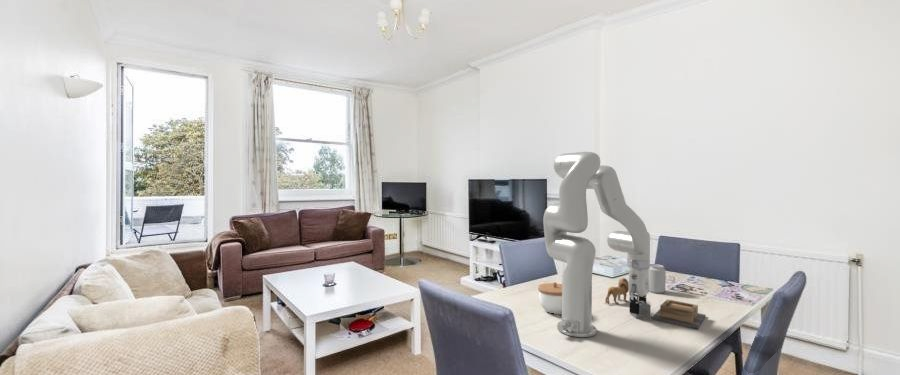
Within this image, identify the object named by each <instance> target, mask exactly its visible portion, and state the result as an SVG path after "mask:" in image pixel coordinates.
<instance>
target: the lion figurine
mask: <svg viewBox="0 0 900 375" xmlns="http://www.w3.org/2000/svg"><path fill="white" fill-rule="evenodd" d="M617 284H618V286H610V287H609V288H607V293H606V294H607V295H606V297H605V304H607V305H610V297H611V296H612V297H613V302H614V304H615V305H620V304H619V302H617V300H618V301H621V295H623V302H625V303H626V302H628V300H627V293H629V289H628V286H629V280H628V279H626V278H625V277H621V278H619V280H618V282H617Z"/></svg>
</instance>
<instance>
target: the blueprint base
mask: <svg viewBox="0 0 900 375" xmlns="http://www.w3.org/2000/svg"><path fill="white" fill-rule="evenodd" d="M659 307H660V308H659V309H658V310H657V311H656V312H655V313H654V314H653V315H652V317H651V319H652V320H655V321H657V322H658V321H659V322H663V323H668V324H672V325H675V326H681V327H684V328H688V329H693V330H699V328H700V326H701V325H702V323H703V322H704V320H705V318H706V314H704V313H701V312H700V313H699V312H698V310H699V305H697V304H694V303H689V302H684V301H683V302H682V301H678V300H673V299H666V300H664V302H662V304H660V306H659Z"/></svg>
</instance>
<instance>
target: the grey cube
mask: <svg viewBox="0 0 900 375" xmlns="http://www.w3.org/2000/svg"><path fill="white" fill-rule="evenodd" d="M638 303H639V314H634V313H630V312H629V314H630V315H631V316H632V317H634V318H635V319H636V320H643V319H644V320H650V319H651V304H649V303H647V301H646V302H644V301H639V302H638Z"/></svg>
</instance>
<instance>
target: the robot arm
mask: <svg viewBox="0 0 900 375" xmlns="http://www.w3.org/2000/svg"><path fill="white" fill-rule="evenodd" d="M553 169H554V172H555V174H556V175H557V176H558V177H560V178H562V181H561V183H560V185H559V189H558V190H559V192H558V197H559V198H558V199H559V202H558V203H557V202H556V203H552V204H550V205H547V208H545V210H544V213H543V219H542V223H543V234H544V235H543V236H544V243H545V249H546V252H547V255H548V256H549V257H550V258H551V259H553V260H556V261H558V262H564V263H566V266H565V269H564V271H563V273H562V277H561V284H562V314H561V320H560V321H559V322H557V324H556V328H557V330H558V331H559V332H560V333H562V334H564V335H566V336H570V337H575V338H590V337H593V336H595V335H596V334H597V327H596V325H594V324H592V322H593V320H592V318H593V314H592V311H593V309H592V308H593V306H592V305H593V299H592V298H593V269H594V264H595V259H596V247H595V244H594V243H593V242H592V241H591V240H590V239H588V238H585V237H582V236H577V235H573V234H582V233H583V232H585V231H586V230H587V228H588V225H589V218H588V217H589V216H588V215H589V214H588V205H587V204H588V203H587V190H594V192H595V195H596V199H597V202H598V205H599V207H600V211H601V212H602V213H603V214H604V215H606V216H607V217H609V218H610V219H612V220H615V221H617V222H618V223H620V224H621V225H622V226H623V227H624V228H625V229H626V230H625V231H623V230H614V231H612V232H610V233H609V234H608V236H607V239H606V242H607V243H606V244H607V245H608V247H609V248H610V249H612V250H613V251H615V252H620V253H626V255H627V257H626V259H627V260H626V261H627V265H626V267H627V268H628V269H629V272H628V284H629V286H628V289H629V290H628V294H629V299H628V300H629V314H630V313H634V314H639V303H638V302H639V301H644V302H646V303H647V295H648V294H649V290H650V289H649V269H650V264H651V260H650V259H651V234H650V232H648V230H647V227H646V224H645V222H644V221H643V219H642V218H641V217H640V216H639V214H637V213H636V212H635V211H634V210H633V208H632V207H630V206H629V205H628V204H627V202H626V199H625V196H624V193H623V190H622V187H621V183H620V181H619V178H618V175H617V174H618V173H617V172H616V170H615V169H614V168H613V167H612V166H609V165H601V158H600V156H599V155H598V154H597V153H595V152H593V151H578V152H567V153H561V154H559V155H557V157H556V158H555V160H554V162H553ZM567 233H571V234H567Z"/></svg>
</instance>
